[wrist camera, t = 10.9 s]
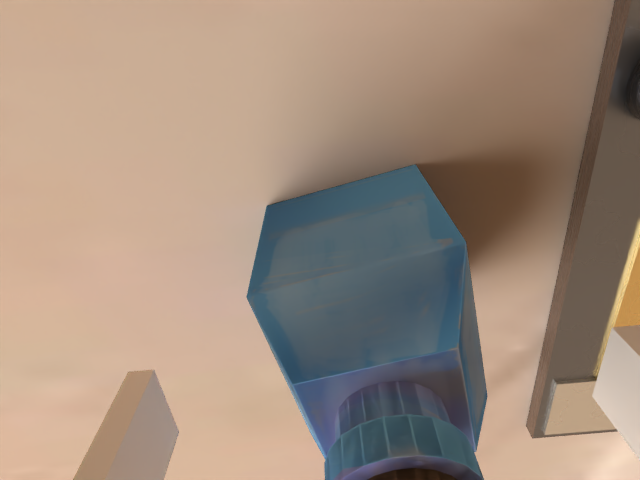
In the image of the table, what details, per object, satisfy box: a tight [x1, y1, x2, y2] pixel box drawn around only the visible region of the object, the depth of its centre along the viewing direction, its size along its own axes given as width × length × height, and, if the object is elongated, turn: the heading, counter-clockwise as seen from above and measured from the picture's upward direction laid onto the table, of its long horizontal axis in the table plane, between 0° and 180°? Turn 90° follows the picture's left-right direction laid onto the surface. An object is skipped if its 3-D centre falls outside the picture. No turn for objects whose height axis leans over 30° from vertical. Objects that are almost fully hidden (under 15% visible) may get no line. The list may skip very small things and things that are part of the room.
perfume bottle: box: [247, 164, 487, 480], centre depth 13 cm, size 6×6×12 cm
